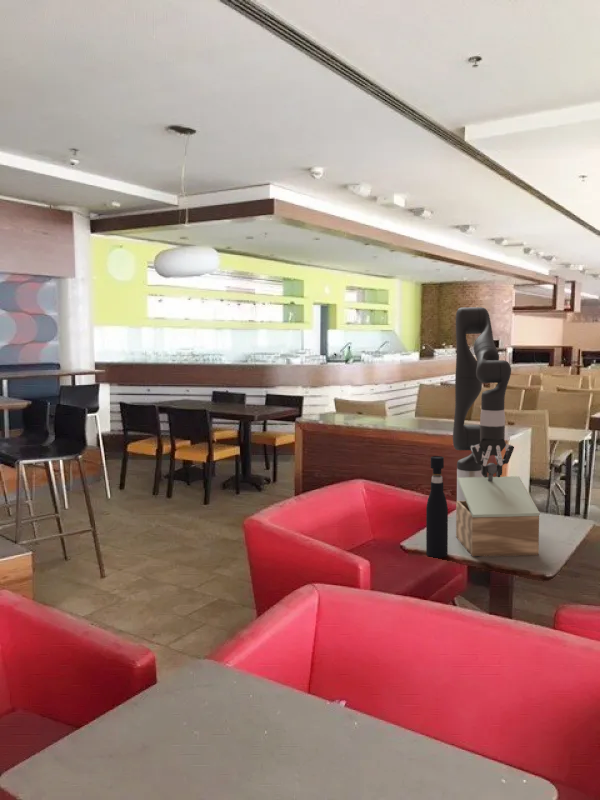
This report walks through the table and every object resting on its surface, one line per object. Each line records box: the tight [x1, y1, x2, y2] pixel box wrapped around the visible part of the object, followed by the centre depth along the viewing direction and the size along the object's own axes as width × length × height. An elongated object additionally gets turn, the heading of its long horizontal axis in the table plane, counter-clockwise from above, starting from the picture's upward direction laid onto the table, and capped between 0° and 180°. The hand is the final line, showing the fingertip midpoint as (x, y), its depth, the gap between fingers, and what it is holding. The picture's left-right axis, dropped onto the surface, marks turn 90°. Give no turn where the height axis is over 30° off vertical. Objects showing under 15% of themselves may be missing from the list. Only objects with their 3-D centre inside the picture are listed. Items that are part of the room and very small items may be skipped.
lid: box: [458, 462, 541, 517], centre depth 214 cm, size 20×20×7 cm
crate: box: [455, 500, 540, 557], centre depth 217 cm, size 20×20×12 cm
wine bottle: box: [425, 455, 449, 559], centre depth 209 cm, size 6×6×30 cm
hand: (491, 476), depth 220 cm, fingers closed on lid, 3 cm apart
